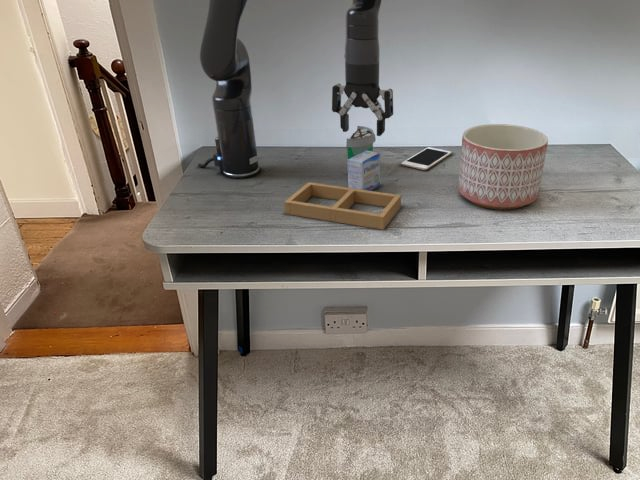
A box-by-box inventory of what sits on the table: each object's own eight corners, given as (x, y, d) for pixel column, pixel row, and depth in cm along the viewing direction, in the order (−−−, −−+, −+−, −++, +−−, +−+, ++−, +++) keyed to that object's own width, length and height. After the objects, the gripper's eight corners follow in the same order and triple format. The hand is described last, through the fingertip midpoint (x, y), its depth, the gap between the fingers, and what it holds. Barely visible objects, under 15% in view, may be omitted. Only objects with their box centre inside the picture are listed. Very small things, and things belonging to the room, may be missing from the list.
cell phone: (400, 165, 151) (400, 163, 151) (428, 148, 163) (428, 146, 163) (425, 170, 148) (426, 168, 148) (452, 153, 160) (452, 151, 159)
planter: (514, 178, 144) (522, 121, 136) (553, 207, 129) (564, 145, 121) (446, 185, 140) (450, 127, 132) (477, 217, 124) (484, 153, 116)
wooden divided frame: (285, 213, 125) (284, 201, 124) (309, 193, 135) (308, 181, 134) (383, 229, 119) (383, 217, 117) (401, 207, 129) (401, 195, 127)
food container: (370, 178, 144) (369, 140, 138) (347, 176, 145) (346, 139, 139) (380, 162, 154) (380, 126, 148) (358, 160, 155) (357, 125, 149)
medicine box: (363, 196, 134) (362, 162, 129) (347, 192, 136) (346, 158, 131) (380, 186, 139) (380, 152, 135) (365, 182, 141) (365, 149, 137)
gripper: (398, 59, 122) (396, 132, 131) (339, 54, 126) (340, 125, 135) (387, 65, 116) (385, 141, 125) (325, 60, 120) (328, 134, 129)
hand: (362, 133), depth 130 cm, fingers open, 8 cm apart
